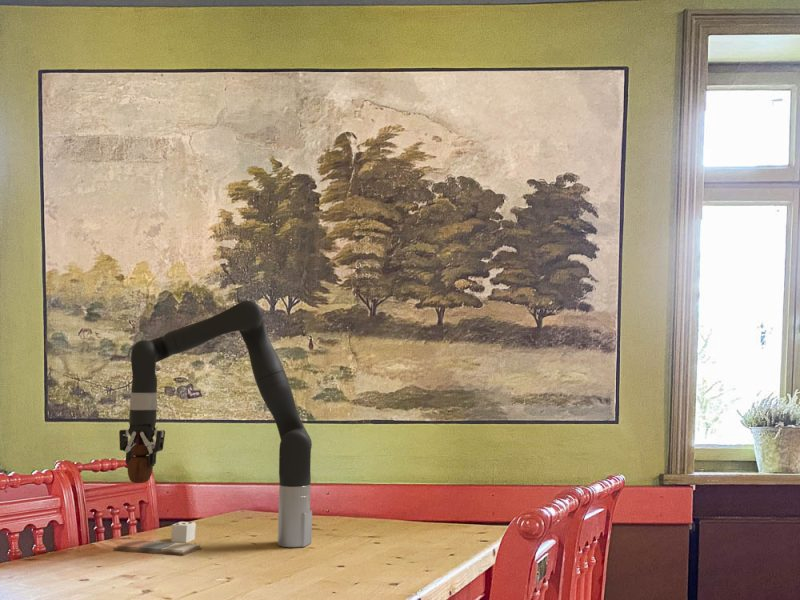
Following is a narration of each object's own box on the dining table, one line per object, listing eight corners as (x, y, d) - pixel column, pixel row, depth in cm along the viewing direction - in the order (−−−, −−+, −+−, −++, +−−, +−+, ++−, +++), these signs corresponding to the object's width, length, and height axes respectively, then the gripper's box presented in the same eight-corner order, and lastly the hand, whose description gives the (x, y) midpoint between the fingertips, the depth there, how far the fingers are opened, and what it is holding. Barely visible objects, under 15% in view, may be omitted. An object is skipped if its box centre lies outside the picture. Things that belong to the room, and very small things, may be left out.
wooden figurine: (134, 484, 194) (137, 431, 196) (123, 482, 198) (126, 430, 199) (155, 481, 200) (158, 429, 201) (144, 480, 203) (146, 429, 205)
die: (194, 539, 208) (195, 522, 208) (186, 543, 203) (186, 525, 204) (180, 538, 209) (180, 521, 210) (171, 542, 204) (171, 524, 205)
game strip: (200, 548, 196) (200, 543, 197) (183, 555, 188) (183, 551, 188) (133, 543, 202) (133, 539, 202) (113, 550, 193) (113, 546, 193)
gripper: (172, 408, 203) (169, 465, 201) (129, 407, 207) (126, 463, 204) (157, 409, 196) (154, 468, 194) (113, 408, 199) (110, 466, 197)
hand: (140, 465), depth 199 cm, fingers closed on wooden figurine, 6 cm apart
